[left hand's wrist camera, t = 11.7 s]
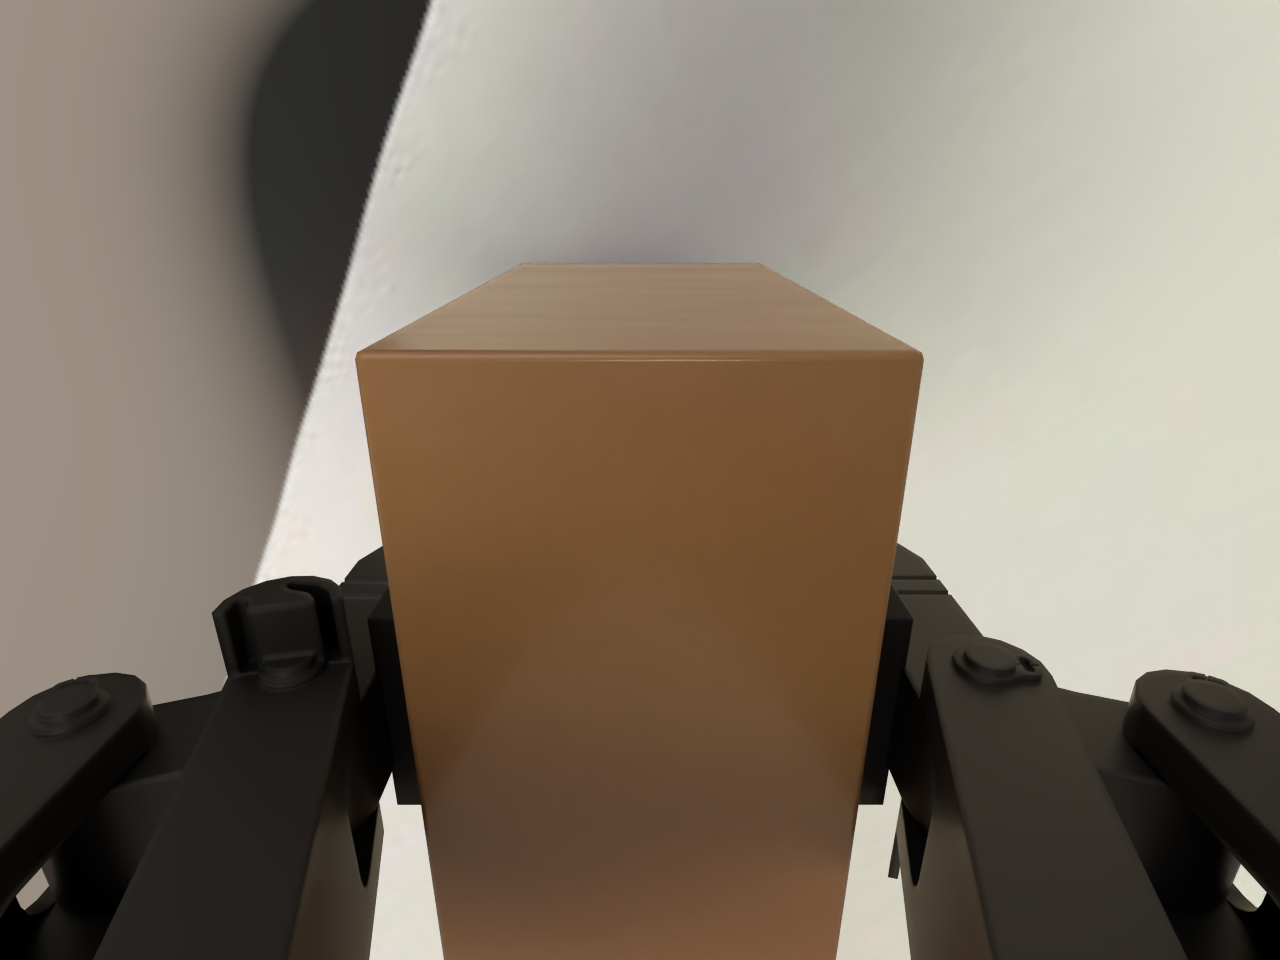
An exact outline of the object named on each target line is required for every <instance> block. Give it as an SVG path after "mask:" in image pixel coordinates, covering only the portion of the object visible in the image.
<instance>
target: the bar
mask: <svg viewBox="0 0 1280 960" xmlns="http://www.w3.org/2000/svg"><path fill="white" fill-rule="evenodd" d="M355 361H356V368H357V375H358V381H359V388H360V395H361V402H362V409H363V415H364V422H365V429H366V436H367V442H368V449H369V456H370V463H371V469H372V476H373V483H374V490H375V496H376V503H377V510H378V517H379V523H380V530H381V537H382V544H383V550H384V557H385V564H386V571H387V577H388V584H389V591H390V598H391V604H392V611H393V618H394V625H395V631H396V638H397V645H398V652H399V658H400V665H401V672H402V679H403V685H404V692H405V699H406V706H407V713H408V719H409V726H410V733H411V740H412V746H413V753H414V760H415V767H416V773H417V780H418V787H419V794H420V800H421V807H422V814H423V821H424V827H425V834H426V841H427V848H428V854H429V861H430V868H431V875H432V881H433V888H434V895H435V902H436V908H437V915H438V922H439V929H440V935H441V942H442V949H443V956H444V960H836V954H837V947H838V941H839V934H840V927H841V920H842V913H843V906H844V900H845V893H846V886H847V879H848V872H849V866H850V859H851V852H852V845H853V838H854V832H855V825H856V818H857V811H858V804H859V798H860V791H861V784H862V777H863V770H864V763H865V757H866V750H867V743H868V736H869V729H870V723H871V716H872V709H873V702H874V695H875V689H876V682H877V675H878V668H879V661H880V655H881V648H882V641H883V634H884V627H885V621H886V614H887V607H888V600H889V593H890V586H891V580H892V573H893V566H894V559H895V552H896V546H897V539H898V532H899V525H900V518H901V512H902V505H903V498H904V491H905V484H906V478H907V471H908V464H909V457H910V450H911V443H912V437H913V430H914V423H915V416H916V409H917V403H918V396H919V389H920V382H921V375H922V369H923V362H924V359H923V355H922V352H920V351H918V350H916V349H914V348H913V347H911V346H909V345H907V344H905V343H903V342H902V341H900V340H898V339H896V338H894V337H893V336H891V335H889V334H887V333H885V332H883V331H882V330H880V329H878V328H876V327H874V326H873V325H871V324H869V323H867V322H865V321H863V320H862V319H860V318H858V317H856V316H854V315H853V314H851V313H849V312H847V311H845V310H843V309H842V308H840V307H838V306H836V305H834V304H833V303H831V302H829V301H827V300H825V299H823V298H822V297H820V296H818V295H816V294H814V293H813V292H811V291H809V290H807V289H805V288H803V287H802V286H800V285H798V284H796V283H794V282H793V281H791V280H789V279H787V278H785V277H783V276H782V275H780V274H778V273H776V272H774V271H773V270H771V269H769V268H767V267H765V266H763V265H762V264H759V263H522V264H520V265H518V266H516V267H514V268H512V269H510V270H509V271H507V272H505V273H503V274H501V275H499V276H498V277H496V278H494V279H492V280H490V281H488V282H486V283H485V284H483V285H481V286H479V287H477V288H475V289H474V290H472V291H470V292H468V293H466V294H464V295H463V296H461V297H459V298H457V299H455V300H453V301H451V302H450V303H448V304H446V305H444V306H442V307H440V308H439V309H437V310H435V311H433V312H431V313H429V314H427V315H426V316H424V317H422V318H420V319H418V320H416V321H415V322H413V323H411V324H409V325H407V326H405V327H403V328H402V329H400V330H398V331H396V332H394V333H392V334H391V335H389V336H387V337H385V338H383V339H381V340H379V341H378V342H376V343H374V344H372V345H370V346H368V347H367V348H365V349H363V350H361V351H359V352H357V355H356V359H355Z"/></svg>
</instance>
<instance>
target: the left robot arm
mask: <svg viewBox="0 0 1280 960" xmlns="http://www.w3.org/2000/svg"><path fill="white" fill-rule="evenodd" d="M212 616H213V620H214V624H215V628H216V632H217V635H218V639H219V643H220V647H221V651H222V655H223V659H224V662H225V667H226V670H227V674H228V678H227V680H226V682H225V684H224V686H223V689H222V691H219V692H216V693H212V694H208V695H203V696H198V697H193V698H188V699H183V700H178V701H173V702H168V703H162V704H157V705H152V702H151V699H150V696H149V693H148V689H147V686H146V684H145V683H144V682H143V681H142V680H140V679H139V678H138V677H136V676H135V675H128V674H121V673H108V674H98V675H87V676H83V677H78V678H77V679H75V680H74V679H71V680H68V681H65V682H61V683H59V684H57V685H55V686H54V687H52V688H50V689H48V690H45V691H43V692H41V693H39V694H36V695H34V696H32V697H31V698H29V699H28V700H26V701H25V702H23V703H21V704H20V705H18V706H17V707H15V708H14V709H12V710H11V711H9V712H8V713H7V714H5V715H4V716H3V717H2V718H0V960H369V956H370V948H371V939H372V930H373V922H374V913H375V904H376V896H377V887H378V878H379V870H380V861H381V852H382V844H383V835H384V829H383V822H382V816H381V810H380V804H379V800H380V798H381V796H382V793H383V791H384V789H385V786H386V784H387V782H388V779H389V777H390V775H391V773H392V774H393V780H394V786H395V792H396V798H397V804H398V805H421V800H420V794H419V787H418V780H417V773H416V767H415V760H414V753H413V746H412V740H411V733H410V726H409V719H408V713H407V706H406V699H405V692H404V685H403V679H402V672H401V665H400V658H399V652H398V645H397V638H396V631H395V625H394V618H393V611H392V604H391V598H390V591H389V584H388V577H387V571H386V564H385V557H384V550H383V546H382V547H380V548H379V549H377V550H375V551H374V552H372V553H370V554H369V555H367V556H366V557H364V558H362V559H361V560H359V561H358V562H357V563H356V565H355V566H354V567H353V569H352V570H351V571H350V572H349V574H348V575H347V576H346V578H345V582H342V583H341V584H340V585H337V584H336V583H335V582H333V581H332V580H330V579H325V578H321V577H316V576H290V577H285V578H280V579H274V580H269V581H265V582H262V583H259V584H257V585H254V586H251V587H248V588H245V589H243V590H241V591H239V592H238V593H236V594H234V595H232V596H231V597H229V598H227V599H225V600H224V601H223V602H222V603H221V604H220V605H219V606H218V607H217V608H216V609H215V610H214V611H213V612H212ZM889 770H890V772H891V774H892V777H893V779H894V781H895V784H896V786H897V788H898V791H899V793H900V795H901V797H902V799H901V804H900V810H899V816H898V821H897V827H896V833H895V838H894V844H893V850H892V855H891V861H890V867H889V874H888V877H890V878H895V879H898V874H899V869H900V868H901V877H902V885H903V894H904V903H905V911H906V920H907V928H908V937H909V946H910V954H911V960H1280V713H1278V712H1277V711H1276V710H1275V709H1273V708H1272V707H1270V706H1269V705H1267V704H1266V703H1264V702H1263V701H1261V700H1260V699H1258V698H1257V697H1255V696H1253V695H1252V694H1250V693H1249V692H1246V691H1244V690H1242V689H1240V688H1237V687H1235V686H1233V685H1230V684H1229V683H1227V682H1226V681H1224V680H1221V679H1218V678H1215V677H1212V676H1208V677H1207V676H1205V674H1200V673H1195V672H1185V671H1176V670H1159V671H1152V672H1147V673H1145V674H1144V675H1143V676H1141V677H1140V678H1139V679H1137V680H1136V682H1135V685H1134V689H1133V692H1132V695H1131V698H1130V701H1129V702H1124V701H1119V700H1114V699H1109V698H1104V697H1099V696H1094V695H1088V694H1083V693H1078V692H1074V691H1070V690H1066V689H1062V688H1058V687H1057V685H1056V683H1055V681H1054V679H1053V677H1052V675H1051V674H1050V673H1049V671H1048V670H1047V669H1046V668H1045V666H1044V665H1043V664H1042V663H1041V662H1040V661H1039V660H1037V659H1036V658H1034V657H1033V656H1031V655H1030V654H1028V653H1027V652H1025V651H1024V650H1022V649H1020V648H1018V647H1015V646H1013V645H1010V644H1008V643H1006V642H1003V641H1001V640H997V639H992V638H987V637H983V635H982V634H981V633H980V631H979V630H978V629H977V628H976V626H975V625H974V624H973V623H972V621H971V620H970V619H969V617H968V616H967V615H966V614H965V612H964V611H963V610H962V608H961V607H960V606H959V605H958V603H957V602H956V601H955V599H954V598H953V597H952V596H951V595H948V590H947V589H946V588H945V587H944V585H943V584H942V583H941V581H940V580H937V579H936V575H935V574H934V572H933V571H932V570H931V569H930V567H929V566H928V565H927V564H926V562H925V561H924V560H923V558H921V557H919V556H918V555H916V554H914V553H913V552H911V551H910V550H908V549H906V548H905V547H903V546H901V545H900V544H898V543H897V546H896V552H895V559H894V566H893V573H892V580H891V586H890V593H889V600H888V607H887V614H886V621H885V627H884V634H883V641H882V648H881V655H880V661H879V668H878V675H877V682H876V689H875V695H874V702H873V709H872V716H871V723H870V729H869V736H868V743H867V750H866V757H865V763H864V770H863V777H862V784H861V791H860V798H859V804H858V805H883V801H884V795H885V789H886V783H887V777H888V771H889ZM1241 864H1242V865H1243V867H1244V868H1245V869H1246V870H1247V871H1248V872H1249V873H1250V874H1251V875H1252V876H1253V878H1254V879H1255V880H1256V881H1257V882H1258V883H1259V884H1260V885H1261V886H1262V887H1263V889H1264V890H1265V891H1266V892H1267V893H1266V895H1265V898H1264V900H1263V902H1262V904H1261V905H1260V906H1259V908H1257V907H1255V906H1254V905H1253V904H1252V903H1251V902H1250V901H1249V900H1247V899H1246V898H1245V897H1244V896H1243V894H1242V893H1241V892H1240V891H1239V890H1238V889H1237V888H1236V886H1235V885H1234V884H1233V881H1234V879H1235V876H1236V874H1237V872H1238V869H1239V867H1240V865H1241ZM41 867H42V870H43V872H44V874H45V877H46V879H47V881H48V884H49V887H48V888H47V889H46V890H45V891H44V893H43V894H42V895H41V896H40V897H39V898H38V899H37V900H36V901H35V902H34V903H33V904H32V905H30V906H29V907H28V908H27V909H26V910H23V909H22V908H21V907H20V905H19V903H18V900H17V898H16V895H17V894H18V893H19V892H20V890H21V889H22V888H23V887H24V886H25V885H26V884H27V883H28V882H29V880H30V879H31V878H32V877H33V876H34V875H35V874H36V873H37V872H38V871H39V869H40V868H41Z"/></svg>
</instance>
